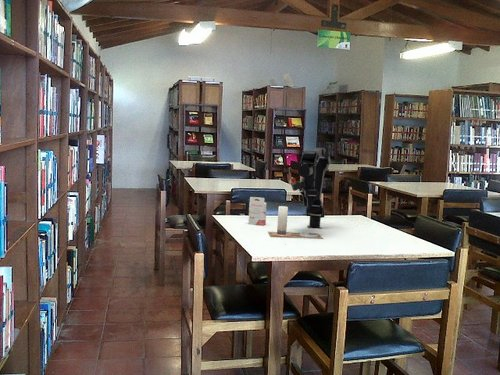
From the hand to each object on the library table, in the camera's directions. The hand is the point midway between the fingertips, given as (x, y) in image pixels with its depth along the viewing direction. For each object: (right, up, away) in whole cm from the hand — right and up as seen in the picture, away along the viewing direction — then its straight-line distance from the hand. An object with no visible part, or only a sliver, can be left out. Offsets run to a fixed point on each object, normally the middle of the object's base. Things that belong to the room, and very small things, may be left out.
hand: (307, 207), depth 254 cm
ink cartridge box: (-24, -10, +21) cm, 34 cm away
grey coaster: (0, -13, -8) cm, 15 cm away
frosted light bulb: (-13, -12, -9) cm, 20 cm away
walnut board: (-7, -14, -8) cm, 17 cm away
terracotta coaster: (-13, -13, -9) cm, 20 cm away
